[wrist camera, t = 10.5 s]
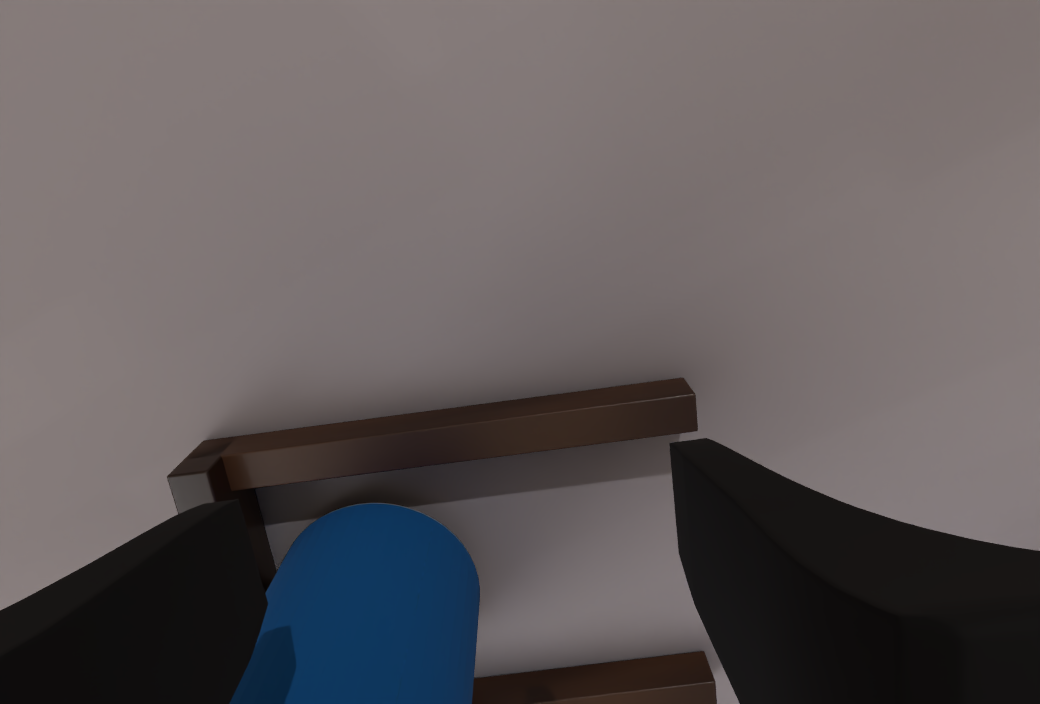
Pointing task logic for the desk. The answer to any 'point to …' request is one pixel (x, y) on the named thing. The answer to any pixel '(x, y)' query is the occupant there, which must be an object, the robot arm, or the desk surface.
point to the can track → (455, 438)
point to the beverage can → (368, 614)
